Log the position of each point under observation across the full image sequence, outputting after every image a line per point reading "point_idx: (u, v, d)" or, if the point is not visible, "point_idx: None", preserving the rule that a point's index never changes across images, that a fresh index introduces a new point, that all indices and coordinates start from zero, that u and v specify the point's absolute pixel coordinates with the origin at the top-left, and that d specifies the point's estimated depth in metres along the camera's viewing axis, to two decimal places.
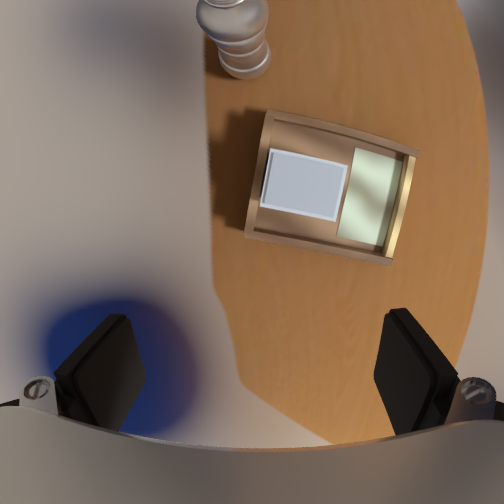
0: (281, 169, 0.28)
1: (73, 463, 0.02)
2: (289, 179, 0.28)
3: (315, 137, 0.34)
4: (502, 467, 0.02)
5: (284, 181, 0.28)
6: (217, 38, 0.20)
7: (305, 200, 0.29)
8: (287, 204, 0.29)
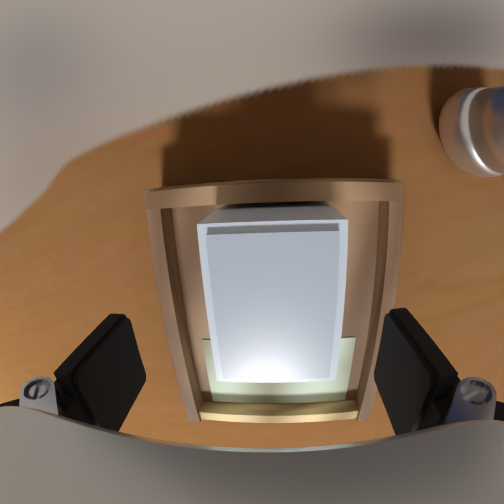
0: (301, 257, 0.11)
1: (73, 463, 0.02)
2: (280, 281, 0.12)
3: (361, 272, 0.19)
4: (502, 467, 0.02)
5: (273, 269, 0.12)
6: None
7: (241, 324, 0.12)
8: (219, 289, 0.12)
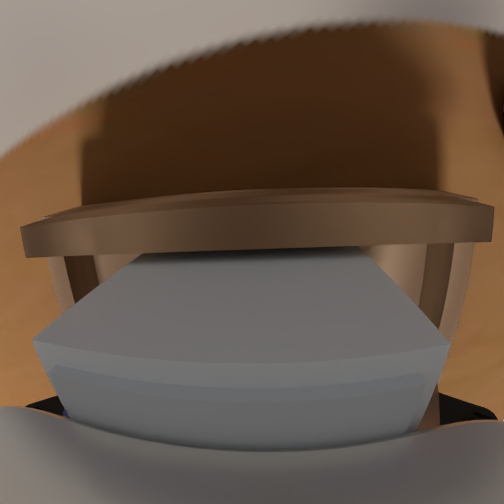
0: None
1: (73, 463, 0.02)
2: None
3: None
4: (502, 467, 0.02)
5: None
6: None
7: None
8: None
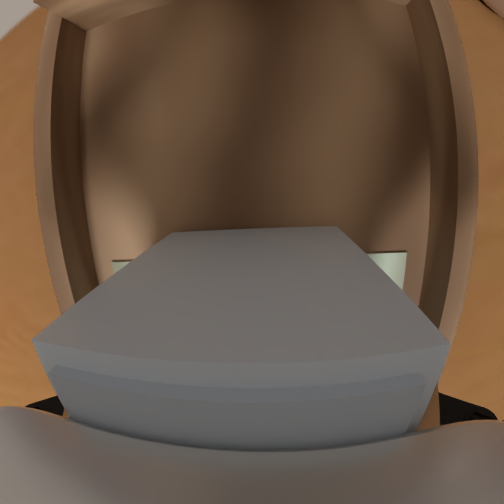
0: None
1: (73, 463, 0.02)
2: None
3: (405, 115, 0.09)
4: (502, 467, 0.02)
5: None
6: None
7: None
8: None
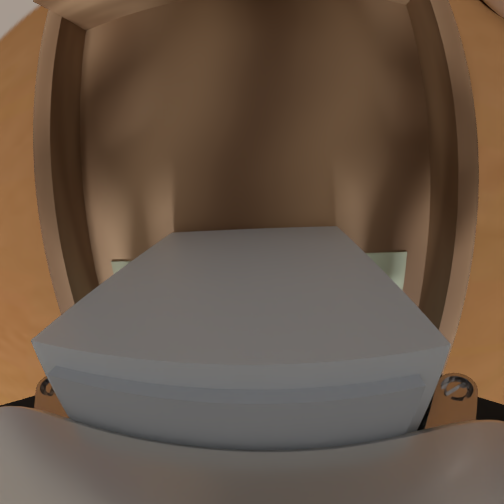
0: None
1: (73, 463, 0.02)
2: None
3: (405, 114, 0.09)
4: (502, 467, 0.02)
5: None
6: None
7: None
8: None
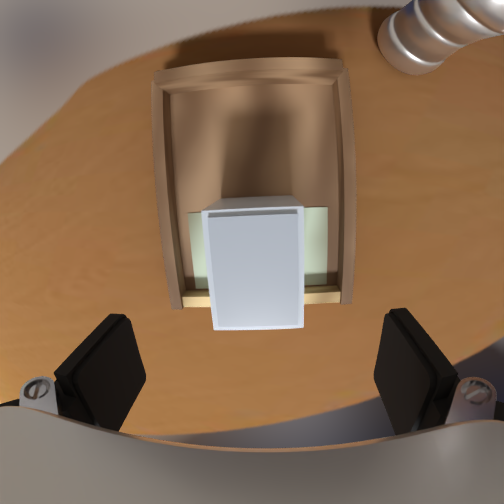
0: (272, 232, 0.17)
1: (73, 463, 0.02)
2: (258, 249, 0.17)
3: (325, 144, 0.23)
4: (502, 467, 0.02)
5: (253, 241, 0.17)
6: None
7: (231, 281, 0.18)
8: (216, 255, 0.17)
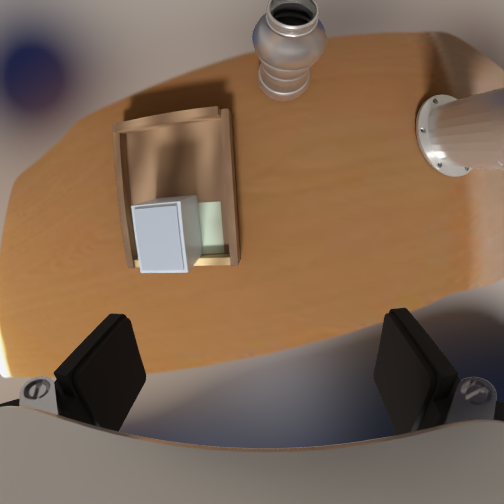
0: (164, 216, 0.31)
1: (73, 463, 0.02)
2: (158, 225, 0.31)
3: (217, 160, 0.36)
4: (502, 467, 0.02)
5: (155, 221, 0.31)
6: (253, 33, 0.20)
7: (146, 243, 0.32)
8: (139, 229, 0.31)
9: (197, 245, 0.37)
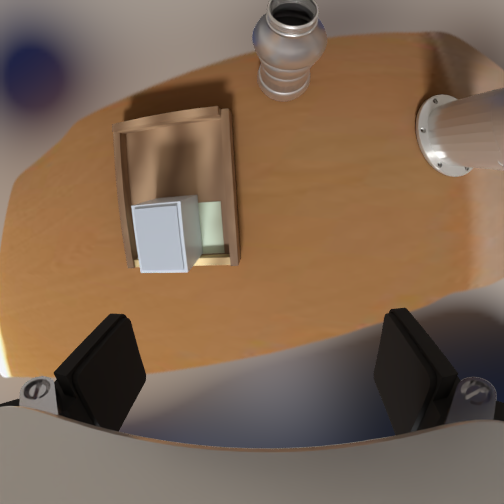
0: (164, 215, 0.31)
1: (73, 463, 0.02)
2: (158, 225, 0.31)
3: (217, 160, 0.36)
4: (502, 467, 0.02)
5: (155, 221, 0.31)
6: None
7: (146, 243, 0.32)
8: (139, 229, 0.31)
9: (197, 245, 0.37)
